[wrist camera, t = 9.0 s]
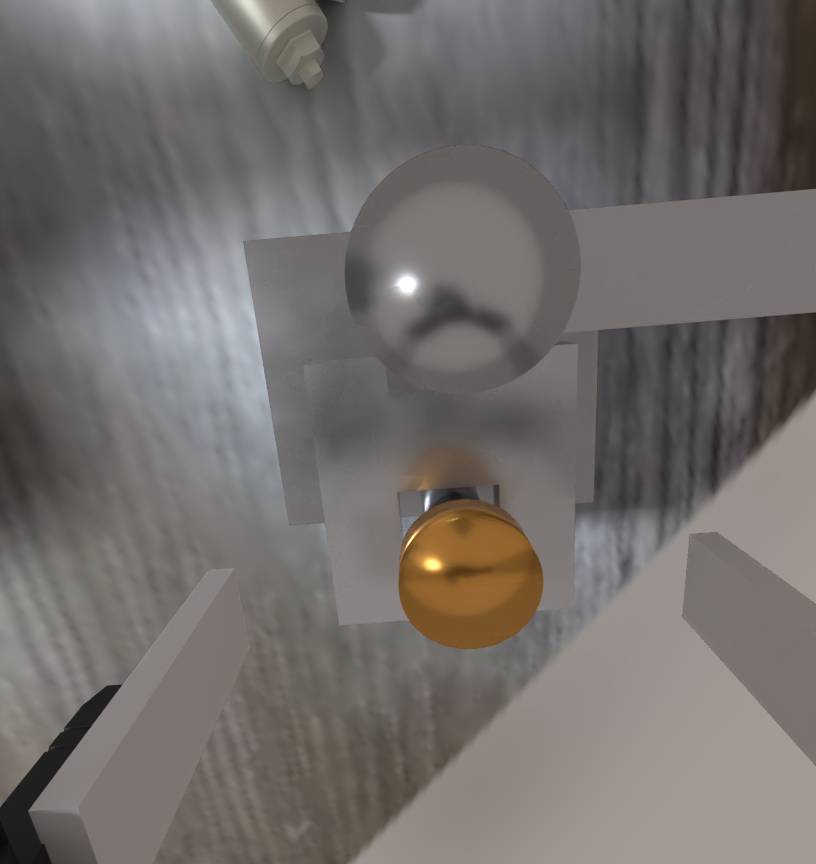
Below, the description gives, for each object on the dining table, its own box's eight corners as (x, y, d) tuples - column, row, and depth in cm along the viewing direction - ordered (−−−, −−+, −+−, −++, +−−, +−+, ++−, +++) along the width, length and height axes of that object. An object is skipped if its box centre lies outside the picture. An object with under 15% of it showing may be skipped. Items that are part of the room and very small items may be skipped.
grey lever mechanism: (296, 533, 26) (154, 829, 11) (250, 244, 22) (-62, 118, 7) (714, 501, 25) (1131, 764, 11) (745, 201, 21) (1467, -20, 7)
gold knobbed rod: (405, 511, 24) (404, 653, 14) (398, 434, 23) (392, 525, 13) (485, 505, 24) (544, 644, 14) (482, 427, 23) (543, 514, 13)
